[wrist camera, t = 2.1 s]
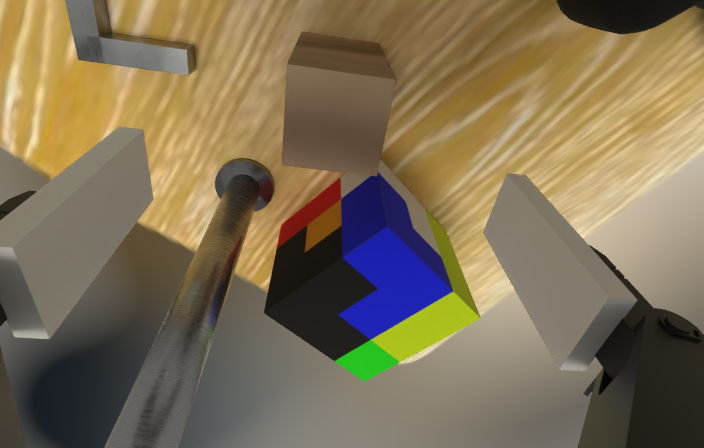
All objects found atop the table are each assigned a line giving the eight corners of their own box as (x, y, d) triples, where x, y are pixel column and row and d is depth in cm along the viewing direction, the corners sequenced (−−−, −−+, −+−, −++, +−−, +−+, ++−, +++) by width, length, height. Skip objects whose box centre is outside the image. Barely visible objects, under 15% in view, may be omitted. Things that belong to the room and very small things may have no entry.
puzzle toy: (373, 151, 30) (387, 225, 22) (445, 230, 34) (480, 318, 26) (281, 224, 33) (263, 312, 25) (358, 288, 38) (364, 381, 30)
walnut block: (301, 31, 25) (287, 64, 18) (378, 43, 26) (396, 79, 18) (296, 108, 28) (281, 165, 20) (366, 118, 28) (376, 176, 21)
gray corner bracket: (68, -54, 22) (53, -54, 21) (188, -34, 23) (179, -33, 22) (91, 54, 25) (78, 59, 24) (195, 69, 26) (188, 75, 25)
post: (215, 155, 30) (-28, 562, 10) (275, 162, 30) (157, 564, 10) (218, 205, 32) (26, 612, 12) (273, 210, 33) (174, 611, 13)
